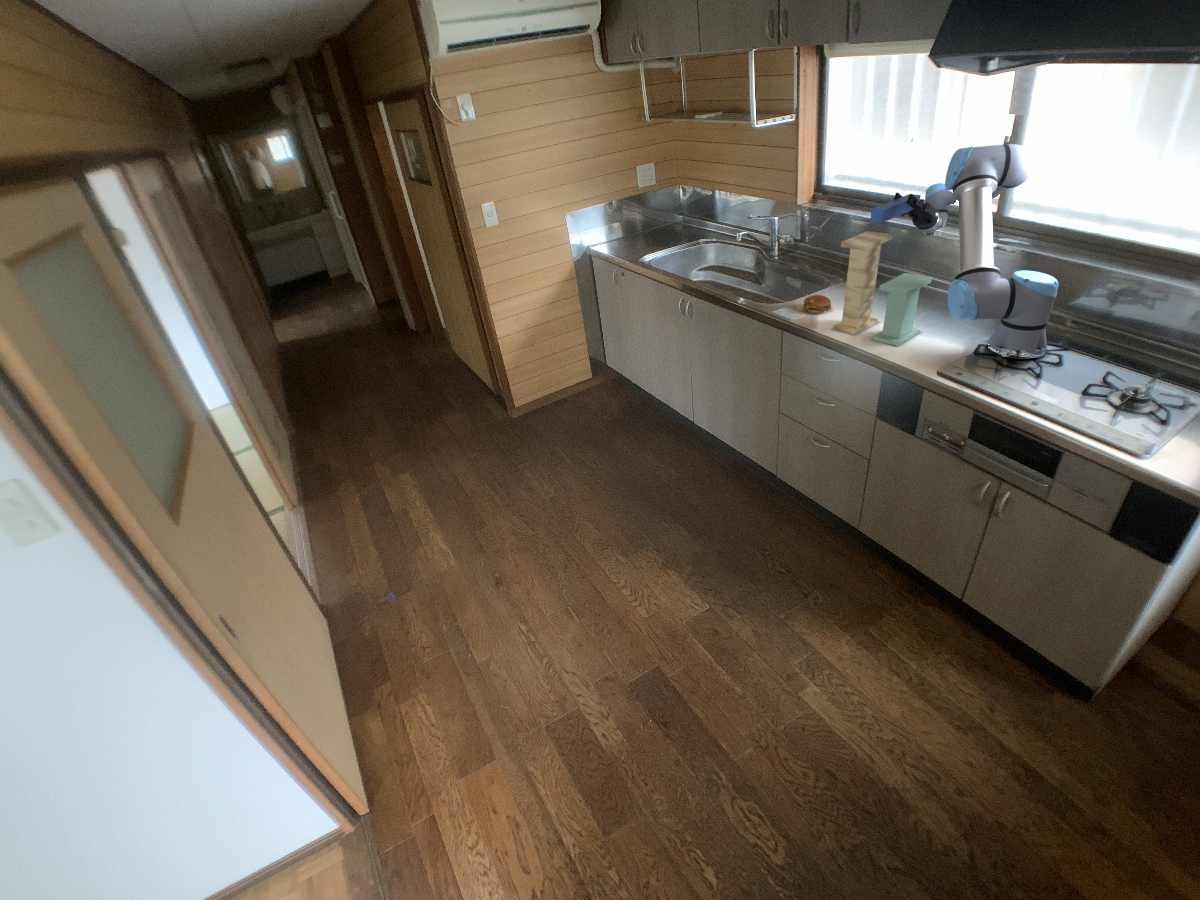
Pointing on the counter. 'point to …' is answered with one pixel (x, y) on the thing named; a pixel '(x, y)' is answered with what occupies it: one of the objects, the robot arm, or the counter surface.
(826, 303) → the burger
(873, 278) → the tall pedestal
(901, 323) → the low pedestal
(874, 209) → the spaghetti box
